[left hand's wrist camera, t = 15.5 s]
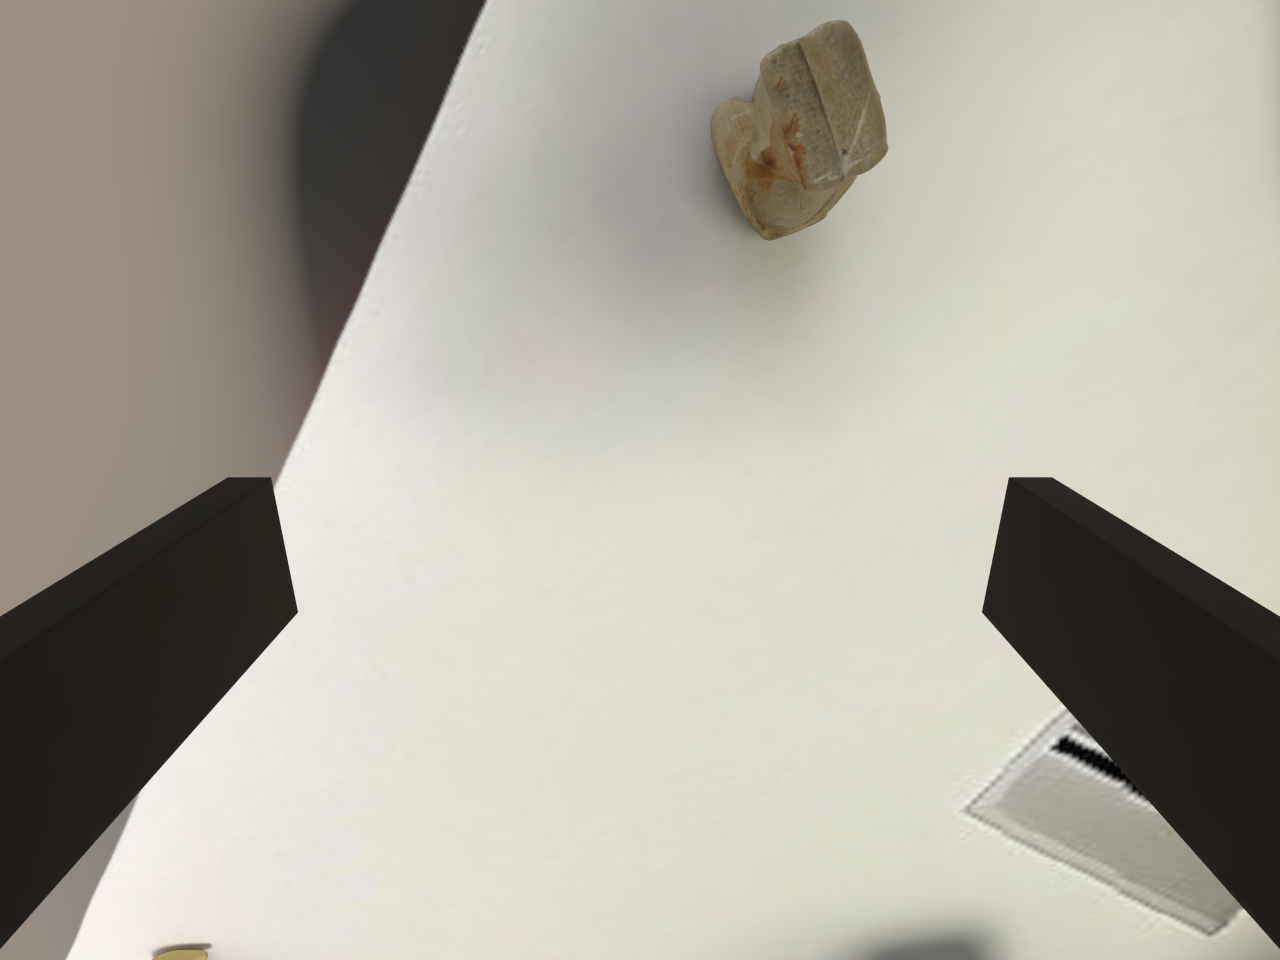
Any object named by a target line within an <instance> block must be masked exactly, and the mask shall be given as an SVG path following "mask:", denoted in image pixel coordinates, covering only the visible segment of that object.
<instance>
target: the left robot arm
mask: <svg viewBox="0 0 1280 960" xmlns="http://www.w3.org/2000/svg"><path fill="white" fill-rule="evenodd" d="M297 613H298V610H297V605H296V600H295V595H294V590H293V585H292V580H291V575H290V570H289V565H288V560H287V555H286V550H285V545H284V540H283V535H282V530H281V525H280V520H279V515H278V510H277V505H276V500H275V495H274V490H273V485H272V480H271V477H228V478H226V479H225V480H223V481H221V482H220V483H218V484H216V485H215V486H213V487H211V488H210V489H208V490H207V491H205V492H203V493H202V494H200V495H198V496H197V497H195V498H193V499H192V500H190V501H189V502H187V503H185V504H184V505H182V506H180V507H179V508H177V509H175V510H174V511H172V512H171V513H169V514H167V515H166V516H164V517H162V518H161V519H159V520H157V521H156V522H154V523H153V524H151V525H149V526H148V527H146V528H144V529H143V530H141V531H139V532H138V533H136V534H135V535H133V536H131V537H130V538H128V539H126V540H125V541H123V542H121V543H120V544H118V545H117V546H115V547H113V548H112V549H110V550H108V551H107V552H105V553H103V554H102V555H100V556H99V557H97V558H95V559H94V560H92V561H90V562H89V563H87V564H85V565H84V566H82V567H81V568H79V569H77V570H76V571H74V572H72V573H71V574H69V575H67V576H66V577H64V578H62V579H61V580H59V581H58V582H56V583H54V584H53V585H51V586H49V587H48V588H46V589H45V590H43V591H41V592H40V593H38V594H36V595H35V596H33V597H31V598H30V599H28V600H27V601H25V602H23V603H22V604H20V605H18V606H17V607H15V608H13V609H12V610H10V611H8V612H7V613H5V614H4V615H2V616H0V948H1V947H2V946H3V945H4V944H5V943H6V942H7V941H8V940H9V938H10V937H11V936H12V935H13V934H14V933H15V932H16V930H17V929H18V928H19V927H20V926H21V925H22V924H23V923H24V921H25V920H26V919H27V918H28V917H29V916H30V915H31V914H32V912H33V911H34V910H35V909H36V908H37V907H38V906H39V905H40V903H41V902H42V901H43V900H44V899H45V898H46V897H47V895H48V894H49V893H50V892H51V891H52V890H53V889H54V888H55V886H56V885H57V884H58V883H59V882H60V881H61V880H62V878H63V877H64V876H65V875H66V874H67V873H68V872H69V871H70V869H71V868H72V867H73V866H74V865H75V864H76V863H77V862H78V860H79V859H80V858H81V857H82V856H83V855H84V854H85V852H86V851H87V850H88V849H89V848H90V847H91V846H92V845H93V843H94V842H95V841H96V840H97V839H98V838H99V837H100V836H101V834H102V833H103V832H104V831H105V830H106V829H107V828H108V826H109V825H110V824H111V823H112V822H113V821H114V820H115V819H116V817H117V816H118V815H119V814H120V813H121V812H122V811H123V809H124V808H125V807H126V806H127V805H128V804H129V803H130V802H131V800H132V799H133V798H134V797H135V796H136V795H137V794H138V793H139V791H140V790H141V789H142V788H143V787H144V786H145V785H146V784H147V782H148V781H149V780H150V779H151V778H152V777H153V776H154V775H155V773H156V772H157V771H158V770H159V769H160V768H161V767H162V765H163V764H164V763H165V762H166V761H167V760H168V759H169V758H170V756H171V755H172V754H173V753H174V752H175V751H176V750H177V749H178V747H179V746H180V745H181V744H182V743H183V742H184V741H185V739H186V738H187V737H188V736H189V735H190V734H191V733H192V732H193V730H194V729H195V728H196V727H197V726H198V725H199V724H200V723H201V721H202V720H203V719H204V718H205V717H206V716H207V715H208V713H209V712H210V711H211V710H212V709H213V708H214V707H215V706H216V704H217V703H218V702H219V701H220V700H221V699H222V698H223V697H224V695H225V694H226V693H227V692H228V691H229V690H230V689H231V687H232V686H233V685H234V684H235V683H236V682H237V681H238V680H239V678H240V677H241V676H242V675H243V674H244V673H245V672H246V671H247V669H248V668H249V667H250V666H251V665H252V664H253V663H254V661H255V660H256V659H257V658H258V657H259V656H260V655H261V654H262V652H263V651H264V650H265V649H266V648H267V647H268V646H269V645H270V643H271V642H272V641H273V640H274V639H275V638H276V637H277V635H278V634H279V633H280V632H281V631H282V630H283V629H284V628H285V626H286V625H287V624H288V623H289V622H290V621H291V620H292V619H293V617H294V616H295V615H296V614H297ZM982 613H983V614H984V615H985V616H986V617H987V619H988V620H989V621H990V622H991V623H992V624H993V625H994V626H995V628H996V629H997V630H998V631H999V632H1000V633H1001V634H1002V635H1003V637H1004V638H1005V639H1006V640H1007V641H1008V642H1009V643H1010V645H1011V646H1012V647H1013V648H1014V649H1015V650H1016V651H1017V652H1018V654H1019V655H1020V656H1021V657H1022V658H1023V659H1024V660H1025V661H1026V663H1027V664H1028V665H1029V666H1030V667H1031V668H1032V669H1033V671H1034V672H1035V673H1036V674H1037V675H1038V676H1039V677H1040V678H1041V680H1042V681H1043V682H1044V683H1045V684H1046V685H1047V686H1048V687H1049V689H1050V690H1051V691H1052V692H1053V693H1054V694H1055V695H1056V697H1057V698H1058V699H1059V700H1060V701H1061V702H1062V703H1063V704H1064V706H1065V707H1066V708H1067V709H1068V710H1069V711H1070V712H1071V713H1072V715H1073V716H1074V717H1075V718H1076V719H1077V720H1078V721H1079V723H1080V724H1081V725H1082V726H1083V727H1084V728H1085V729H1086V730H1087V732H1088V733H1089V734H1090V735H1091V736H1092V737H1093V738H1094V739H1095V741H1096V742H1097V743H1098V744H1099V745H1100V746H1101V747H1102V749H1103V750H1104V751H1105V752H1106V753H1107V754H1108V755H1109V756H1110V758H1111V759H1112V760H1113V761H1114V762H1115V763H1116V764H1117V765H1118V767H1119V768H1120V769H1121V770H1122V771H1123V772H1124V773H1125V775H1126V776H1127V777H1128V778H1129V779H1130V780H1131V781H1132V782H1133V784H1134V785H1135V786H1136V787H1137V788H1138V789H1139V790H1140V791H1141V793H1142V794H1143V795H1144V796H1145V797H1146V798H1147V799H1148V801H1149V802H1150V803H1151V804H1152V805H1153V806H1154V807H1155V808H1156V810H1157V811H1158V812H1159V813H1160V814H1161V815H1162V816H1163V817H1164V819H1165V820H1166V821H1167V822H1168V823H1169V824H1170V825H1171V827H1172V828H1173V829H1174V830H1175V831H1176V832H1177V833H1178V834H1179V836H1180V837H1181V838H1182V839H1183V840H1184V841H1185V842H1186V843H1187V845H1188V846H1189V847H1190V848H1191V849H1192V850H1193V851H1194V853H1195V854H1196V855H1197V856H1198V857H1199V858H1200V859H1201V860H1202V862H1203V863H1204V864H1205V865H1206V866H1207V867H1208V868H1209V869H1210V871H1211V872H1212V873H1213V874H1214V875H1215V876H1216V877H1217V879H1218V880H1219V881H1220V882H1221V883H1222V884H1223V885H1224V886H1225V888H1226V889H1227V890H1228V891H1229V892H1230V893H1231V894H1232V895H1233V897H1234V898H1235V899H1236V900H1237V901H1238V902H1239V903H1240V905H1241V906H1242V907H1243V908H1244V909H1245V910H1246V911H1247V912H1248V914H1249V915H1250V916H1251V917H1252V918H1253V919H1254V920H1255V921H1256V923H1257V924H1258V925H1259V926H1260V927H1261V928H1262V929H1263V931H1264V932H1265V933H1266V934H1267V935H1268V936H1269V937H1270V938H1271V940H1272V941H1273V942H1274V943H1275V944H1276V945H1277V946H1278V947H1279V949H1280V616H1278V615H1276V614H1275V613H1273V612H1272V611H1270V610H1268V609H1267V608H1265V607H1263V606H1262V605H1260V604H1258V603H1257V602H1255V601H1254V600H1252V599H1250V598H1249V597H1247V596H1245V595H1244V594H1242V593H1240V592H1239V591H1237V590H1236V589H1234V588H1232V587H1231V586H1229V585H1227V584H1226V583H1224V582H1222V581H1221V580H1219V579H1218V578H1216V577H1214V576H1213V575H1211V574H1209V573H1208V572H1206V571H1204V570H1203V569H1201V568H1199V567H1198V566H1196V565H1195V564H1193V563H1191V562H1190V561H1188V560H1186V559H1185V558H1183V557H1181V556H1180V555H1178V554H1177V553H1175V552H1173V551H1172V550H1170V549H1168V548H1167V547H1165V546H1163V545H1162V544H1160V543H1159V542H1157V541H1155V540H1154V539H1152V538H1150V537H1149V536H1147V535H1145V534H1144V533H1142V532H1141V531H1139V530H1137V529H1136V528H1134V527H1132V526H1131V525H1129V524H1127V523H1126V522H1124V521H1123V520H1121V519H1119V518H1118V517H1116V516H1114V515H1113V514H1111V513H1109V512H1108V511H1106V510H1105V509H1103V508H1101V507H1100V506H1098V505H1096V504H1095V503H1093V502H1091V501H1090V500H1088V499H1087V498H1085V497H1083V496H1082V495H1080V494H1078V493H1077V492H1075V491H1073V490H1072V489H1070V488H1069V487H1067V486H1065V485H1064V484H1062V483H1060V482H1059V481H1057V480H1055V479H1054V478H1052V477H1009V480H1008V485H1007V490H1006V495H1005V500H1004V505H1003V510H1002V515H1001V520H1000V525H999V530H998V535H997V540H996V545H995V550H994V555H993V560H992V565H991V570H990V575H989V580H988V585H987V590H986V595H985V600H984V605H983V610H982Z"/></svg>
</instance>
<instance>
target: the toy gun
mask: <svg viewBox="0 0 1280 960" xmlns="http://www.w3.org/2000/svg"><path fill="white" fill-rule="evenodd" d="M207 957H208V953H207V952H206V951H204V950H175V951H170V952H166V953H163V954H160V955H158V956H157V957H155V958H154V959H153V960H206V959H207Z"/></svg>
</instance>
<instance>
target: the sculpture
mask: <svg viewBox="0 0 1280 960" xmlns="http://www.w3.org/2000/svg"><path fill="white" fill-rule="evenodd" d="M760 70H761V74H760V76H759V78H758V80H757V83H756V86H755V93H754V94H753V98H752V101H751V102H745V101H743V100H741V99H739V98H733V99H731V100H729V101H726V102H724V103H722V104H721V105H720V106H719V107H718V108H717V110H716V111H715V113H714V115H713V117H712V121H711V134H712V140H713V144H714V148H715V151H716V154H717V157H718V160H719V163H720V166H721V168H722V170H723V172H724V175H725V177H726V179H727V181H728V183H729V185H730V187H731V189H732V191H733V193H734V195H735V198H736V200H737V201H738V203H739V205H740V207H741V209H742V211H743V213H744V215H745V217H746V218H747V220H748V222H749V223H750V224H751V226H752V227H753V228H754V229H755V230H756V231H757V233H758V234H759V235H760V236H761V237H762V238H764V239H765V240H774V239H777V238H780V237H783V236H786V235H789V234H792V233H795V232H797V231H799V230H801V229H804V228H806V227H808V226H811V225H813V224H815V223H817V222H819V221H821V220H822V219H824V218H825V217H826V215H827V212H828V211H830V209H831V208H832V207H833V206H834V205H835V204H836V203H837V202H838V201H839V199H840V198H841V197H842V196H843V195H844V193H845V192H846V191H847V190H848V189H849V187H850V186H851V185H852V183H853V182H854V180H855V179H856V177H857V175H859V174H862V173H865V172H866V171H868V170H870V169H871V168H873V167H874V166H876V165H877V164H878V163H879V162H880V161H881V159H882V158H883V157H884V156H885V154H886V153H887V151H888V145H887V139H886V124H885V118H884V114H883V109H882V106H881V102H880V95H879V93H878V91H877V90H876V87H875V84H874V81H873V78H872V76H871V72H870V69H869V66H868V62H867V59H866V56H865V52H864V49H863V46H862V44H861V41H860V39H859V37H858V35H857V33H856V32H855V31H854V29H853V28H852V26H851V25H850V24H849V23H848V22H847V21H845V20H836V21H830V22H826V23H824V24H821V25H819V26H818V27H817V28H815V29H814V30H813V31H811V32H810V33H808V34H807V35H805V36H803V37H801V38H799V39H796V40H794V41H792V42H789V43H787V44H782V45H780V46H778V47H777V48H776V49H774V50H773V51H771V52H770V53H768V54H767V55H766V56H765V57H764V58H763V59H762V61H761V63H760Z"/></svg>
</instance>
